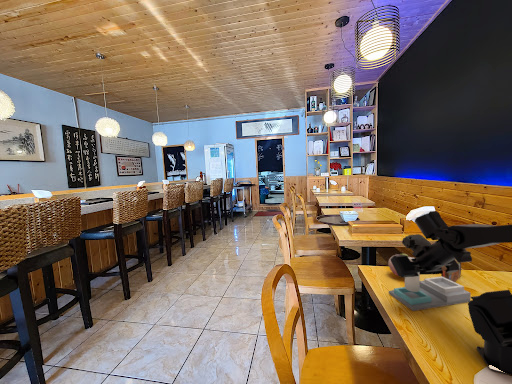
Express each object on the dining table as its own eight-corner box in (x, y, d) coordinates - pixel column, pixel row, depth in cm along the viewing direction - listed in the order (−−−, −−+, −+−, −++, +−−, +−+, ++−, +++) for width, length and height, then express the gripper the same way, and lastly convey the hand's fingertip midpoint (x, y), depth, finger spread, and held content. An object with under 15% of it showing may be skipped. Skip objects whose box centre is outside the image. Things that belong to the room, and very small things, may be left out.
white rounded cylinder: (422, 291, 70) (422, 261, 69) (411, 292, 70) (411, 262, 69) (410, 283, 75) (410, 255, 74) (399, 284, 75) (399, 256, 74)
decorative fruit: (392, 270, 94) (392, 247, 93) (415, 275, 88) (415, 252, 87) (385, 277, 88) (385, 253, 87) (409, 284, 82) (409, 259, 81)
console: (413, 310, 67) (413, 297, 66) (388, 293, 77) (388, 281, 76) (470, 301, 70) (470, 288, 69) (439, 286, 80) (439, 274, 79)
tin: (449, 287, 78) (450, 265, 78) (438, 284, 81) (439, 262, 80) (462, 275, 87) (462, 255, 86) (451, 272, 89) (452, 252, 89)
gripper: (450, 226, 67) (419, 249, 79) (394, 230, 65) (371, 253, 77) (478, 260, 60) (439, 280, 72) (416, 266, 58) (387, 285, 70)
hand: (408, 273), depth 73 cm, fingers closed on white rounded cylinder, 4 cm apart
